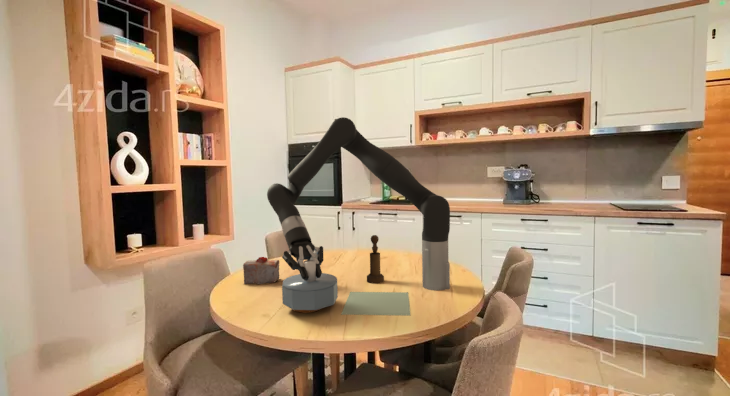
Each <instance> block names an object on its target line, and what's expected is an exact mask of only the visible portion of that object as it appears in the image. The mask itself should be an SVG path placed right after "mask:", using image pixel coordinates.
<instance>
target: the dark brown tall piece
mask: <svg viewBox="0 0 730 396" xmlns="http://www.w3.org/2000/svg"><path fill="white" fill-rule="evenodd" d="M370 242H371V244H372V247H371V249H372V252H369V273H368V274H367V275H366V282H367V283H369V284H373V285H374V284H377V285H378V284H382V283H384V282H385V276H384V274H382V273H381V252H378V249H379V247H378V245H377V244H378V242H379V236H378V235H376V234H373V235H372V236H371V235H370Z"/></svg>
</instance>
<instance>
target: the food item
mask: <svg viewBox="0 0 730 396" xmlns="http://www.w3.org/2000/svg"><path fill="white" fill-rule="evenodd" d="M242 268H243V269H242V270H243V284H246V285H247V284H248V285H249V284H250V285H251V284H257V285H261V284H273V283H276V281H278V280H279V279H280V260H279V259H275V260H271V259H269V260H268V257H266V256H265V257H264V256H260V257H258V258H257V259H256V260H254V259H253V260H252V259H251V260H246V261H245V262H244V263H243V265H242Z"/></svg>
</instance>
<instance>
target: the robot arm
mask: <svg viewBox="0 0 730 396" xmlns="http://www.w3.org/2000/svg"><path fill="white" fill-rule="evenodd" d="M341 148H342V149H344V150H346V151H347V152H349V153H350V154H352V155H353V156H354V157H355V158H357V159H358V160H359V161H360V162H361V163H362V164H363V166H365V168H366V169H368V170H369V171H370V172H371V173H372V174H373V175H374V176H375V177H377V178H378V179H379V180H380V181H381V182H383V183H384V185H386V186H387V187H389V189H391V190H393V191H395V192H396V193H398V194H399V195H400V196H402V197H404V198H406V199H407V200H408V201H409V202H410V203H411V204H412V205H413V206H414V207H415V208H416V209H417V210H418V211H419V212H420V213H421V214H422V223H423V224H422V232H421V245H422V246H421V252H422V253H421V256H422V257H421V260H422V261H421V263H422V265H421V267H422V269H421V271H422V274H421V275H422V288H424V289H426V290H429V291H438V292H439V291H445V290H450V289H451V286H450V283H451V282H450V278H451V277H450V276H451V275H450V271H451V270H450V268H451V266H450V264H451V263H450V262H449V235H450V229H451V208H450V204H449V202H448V200H447V198H445V197H444V196H440V195H438V194H436V193H434V192H433V191H431V190H430V189H428V188H426V187H425V186H424V185H422V184H421V182H419V181H418V180H417V179H416V177H415V176H414V175H413V174H412V173H411V172H410V171H409V169H407V168H406V166H404V164H402V163H401V161H399V160H398V159H396V157H394V156H393V155H391V154H390V153H388V152H387V151H385V150H384V149H382V148H380V147H379V146H376V145H375V144H373V143H372V142H370V140H368V139H367V138H366V137H364V136H363V134H362V133H361V132H360V131H358V130H357V127H356V125H355V123H354V122H353V120H351V119H350V118H348V117H342V116H341V117H338V118H336V119H334V120H333V122H332V123H331V125H330V126H329V127H328V128H327V130H326V131H325V134H324V135H323V136H322V137H321V139H320V140H319V141H318V143H317V144H316V145H315V146H314V148H313V149H311V150H310V152H309V153H308V154H307V155H305V157H304V158H303V159H302V160H300V162H299V163H298V164H297V165H296V166H295V167H294V168H293V169H292V170H291V171H290V172H289V173H288V175H287V179H288V181H289V182H290V183H289V185H288V187H286V186H285V185H284V184H281V183H276V182H275V183H273V184H271V185H270V186H269V187H268V188H267V193H266V196H267V200H268V203H269V204H270V206H271V208H272V210H273V211H274V212H275V214H276V215H277V217H278V220H279V223H280V226H281V231H282V234H283V236H284V239H285V241H286V242H285V243H286V245H287V247H288V249H289V250H284V252H283V254H282V255H281V258H282V259H283V260H284V262H285V263H286V264H287V265H288V267H290V268H291V270H292V271H295V270H297V271H298V272H299V274H301V277H302V279H304V281H306V280H308V278H309V276H308V273H307V271H306V268H305V267H304V261H306V260H315V261H316V277H317V278H320V277H321V274H322V273H323V271H322V268H320V267H321V266H322V263H323V262H324V247H323V246H322V245H319V247H318V246H315V244H313V242H312V238H311V235H310V234H309V231H308V228H307V226H306V224H305V222H304V220H303V219H302V216H301V214H300V211H299V209H298V207H297V206H296V205H294V204H296V203H297V200H298V199H299V197H300V196H301V194H302V192H303V190H304V188H305V187H306V186H307V185H308V184H309V183H310V182H311V181H312V180H313V179H314V177H315V176H316V175H317V174H319V172H320V171H321V169H322V168H323V166H324V165H325V164H326V162H327V161H328V160H329V159H330V158H331V157H332V155H334V154H335V153H336V152H338V150H339V149H341ZM314 251H315V252H316V254H317V258H316V255H315V254H314ZM294 258H295V259H294Z"/></svg>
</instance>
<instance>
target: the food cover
mask: <svg viewBox="0 0 730 396" xmlns="http://www.w3.org/2000/svg"><path fill="white" fill-rule="evenodd" d="M303 262H304V267H305V268H306V271H307V273H308V276H309V278H308V280H306V281H304V279H302V277H301V274H300V273H299V274H294V275H291V276H288V277H286V278H285V279H283V280H282V285H281V291H282V294H281V295H282V297H281V298H282V305H284V306H285V307H288V308H289V309H291V310H292V311H294V310H317V309H320V310H321V309H324V308H327V307H331V306H334V305H335V304H336V302H337V300H338V296H339V292H338V277H337V276H336V275H334V274H332V273H325V272H322V274H321V277H320V278H317V277H316V261H315V260H303ZM317 311H318V310H317Z"/></svg>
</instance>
